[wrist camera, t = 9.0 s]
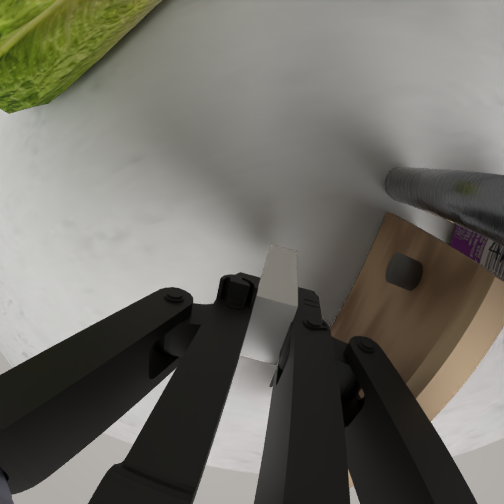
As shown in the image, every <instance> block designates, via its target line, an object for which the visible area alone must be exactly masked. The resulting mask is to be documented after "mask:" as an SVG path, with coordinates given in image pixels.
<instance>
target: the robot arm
mask: <svg viewBox="0 0 504 504" xmlns="http://www.w3.org/2000/svg"><path fill="white" fill-rule="evenodd" d="M239 356H244V357H247V358H251V359H255V360H258V361H262V362H266V363H270V364H274V365H276V364H277V361H278V359H279V364H278V366H277V369H276V371H275V374H274V376H273V379H272V381H271V383H270V386H269V387H272V386H273V390H272V397H271V404H270V411H269V418H268V424H267V431H266V437H265V443H264V450H263V456H262V462H261V467H260V473H259V479H258V485H257V490H256V495H255V501H254V504H350V495H349V493H350V492H349V475H348V470H349V473H350V476H351V479H352V481H353V484H354V487H355V490H356V493H357V496H358V499H359V502H360V504H477V502H476V500H475V498H474V496H473V494H472V492H471V490H470V489H469V487H468V485H467V483H466V481H465V480H464V478H463V476H462V474H461V472H460V471H459V469H458V467H457V465H456V463H455V462H454V460H453V458H452V457H451V455H450V453H449V451H448V450H447V448H446V446H445V445H444V443H443V441H442V440H441V438H440V436H439V435H438V433H437V432H436V430H435V428H434V427H433V425H432V423H431V422H430V420H429V419H428V417H427V416H426V414H425V412H424V411H423V409H422V408H421V406H420V405H419V403H418V401H417V400H416V398H415V397H414V395H413V394H412V392H411V391H410V389H409V388H408V386H407V385H406V383H405V382H404V380H403V379H402V377H401V376H400V374H399V373H398V371H397V370H396V368H395V367H394V366H393V364H392V363H391V361H390V360H389V358H388V357H387V355H386V354H385V353H384V351H383V350H382V348H381V347H380V346H379V345H378V344H377V343H376V342H375V341H373V340H372V339H370V338H368V337H363V336H354V337H352V338H351V339H350V341H349V343H348V344H347V343H345V342H343V341H340V340H338V339H336V338H334V337H333V336H331V330H330V327H329V325H328V324H327V323H326V322H325V321H324V320H322V316H321V309H320V304H319V297H318V296H317V295H316V293H315V292H314V291H311V290H307V289H303V288H299V287H298V274H297V251H295V250H291V249H287V248H284V247H280V246H276V245H273V244H271V246H270V250H269V253H268V256H267V259H266V263H265V266H264V269H263V272H262V276H261V278H259V277H256V276H252V275H248V274H245V273H241V272H240V273H238V274H236V275H225V276H223V277H221V279H220V284H219V289H218V293H217V298H216V300H215V302H214V304H207V305H206V304H195V303H193V297H192V296H191V294H190V293H188V292H187V291H185V290H182V289H180V288H175V287H170V288H163V289H160V290H158V291H156V292H154V293H152V294H150V295H148V296H146V297H144V298H143V299H141V300H139V301H137V302H135V303H133V304H131V305H129V306H127V307H125V308H124V309H122V310H120V311H118V312H116V313H114V314H112V315H110V316H108V317H107V318H105V319H103V320H101V321H99V322H97V323H95V324H93V325H92V326H90V327H88V328H86V329H84V330H82V331H80V332H79V333H77V334H75V335H73V336H71V337H69V338H67V339H65V340H64V341H62V342H60V343H58V344H56V345H54V346H52V347H51V348H49V349H47V350H45V351H43V352H41V353H40V354H38V355H36V356H34V357H32V358H30V359H29V360H27V361H25V362H23V363H21V364H19V365H18V366H16V367H14V368H12V369H10V370H8V371H7V372H5V373H3V374H1V375H0V504H14V503H13V500H12V494H16V493H20V492H23V491H25V490H27V489H30V488H32V487H34V486H35V485H37V484H39V483H40V482H41V481H43V480H45V479H46V478H47V477H49V476H50V475H51V474H52V473H54V472H55V471H56V470H58V469H59V468H60V467H61V466H63V465H64V464H65V463H66V462H68V461H69V460H70V459H71V458H73V457H74V456H75V455H76V454H77V453H79V452H80V451H81V450H82V449H84V448H85V447H86V446H87V445H88V444H90V443H91V442H92V441H93V440H95V438H97V437H98V436H99V435H100V434H102V433H103V432H104V431H105V430H106V429H108V428H109V427H110V426H111V425H112V424H113V423H115V422H116V421H117V420H118V419H119V418H120V417H122V416H123V415H124V414H125V413H126V412H127V411H129V410H130V409H131V408H132V407H133V406H134V405H135V404H137V403H138V402H139V401H140V400H141V399H142V398H143V397H144V396H146V395H147V394H148V393H149V392H150V391H151V390H152V389H153V388H155V387H156V386H157V385H158V384H159V383H160V382H161V381H162V380H163V379H165V378H166V377H167V376H168V375H169V374H170V373H171V372H172V371H173V370H175V369H176V370H175V372H174V373H173V375H172V377H171V379H170V381H169V382H168V384H167V386H166V388H165V389H164V391H163V393H162V395H161V396H160V398H159V400H158V402H157V403H156V405H155V407H154V409H153V410H152V412H151V414H150V416H149V418H148V419H147V421H146V423H145V425H144V426H143V428H142V430H141V432H140V434H139V435H138V437H137V439H136V441H135V442H134V444H133V446H132V448H131V450H130V452H129V453H128V455H127V457H126V458H125V460H124V461H123V462H122V463H119V464H114V465H113V466H112V467H111V468H110V469H109V470H108V471H107V473H106V474H105V476H104V477H103V479H102V480H101V482H100V484H99V486H98V487H97V489H96V491H95V492H94V494H93V496H92V498H91V499H90V501H89V503H88V504H193V501H194V499H195V496H196V492H197V490H198V487H199V483H200V481H201V478H202V474H203V471H204V468H205V465H206V462H207V459H208V456H209V453H210V450H211V447H212V444H213V441H214V437H215V434H216V431H217V428H218V425H219V422H220V418H221V415H222V412H223V409H224V406H225V402H226V399H227V396H228V393H229V389H230V386H231V383H232V380H233V376H234V373H235V370H236V366H237V363H238V360H239ZM361 389H362V390H363V392H364V397H363V398H361V397H360V395H359V392H360V390H361Z"/></svg>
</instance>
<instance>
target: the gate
mask: <svg viewBox="0 0 504 504" xmlns="http://www.w3.org/2000/svg"><path fill="white" fill-rule="evenodd" d="M503 326H504V281H503V280H502V279H500V278H499V277H498V276H496V275H495V274H493V273H492V272H490V271H489V270H487V269H486V268H484V267H483V266H481V265H480V264H478V263H477V262H475V261H474V260H472V259H471V258H469V257H468V256H466V255H464V254H463V253H461V252H460V251H458V250H456V249H455V248H453V247H451V246H450V245H448V244H447V243H445V242H443V241H441V240H440V239H438V238H436V237H435V236H433V235H431V234H429V233H428V232H426V231H424V230H422V229H420V228H419V227H417V226H415V225H413V224H411V223H409V222H408V221H406V220H404V219H402V218H400V217H398V216H396V215H393V214H391V213H389V212H386V215H385V217H384V220H383V222H382V225H381V227H380V229H379V232H378V234H377V236H376V239H375V241H374V243H373V245H372V248H371V250H370V252H369V254H368V257H367V259H366V261H365V263H364V265H363V267H362V269H361V271H360V273H359V276H358V278H357V280H356V282H355V284H354V286H353V288H352V290H351V292H350V294H349V296H348V298H347V299H346V301H345V303H344V305H343V307H342V309H341V311H340V313H339V315H338V316H337V318H336V320H335V322H334V324H333V326H332V327H331V329H330V330H331V336H333V337H334V338H336V339H338V340H340V341H343V342H345V343H347V344H348V343H349V341H350V339H351V338H352V337H354V336H363V337H368V338H370V339H372V340H373V341H375V342H376V343H377V344H378V345H379V346H380V347H381V348H382V350H383V351H384V353H385V354H386V355H387V357H388V358H389V360H390V361H391V363H392V364H393V366H394V367H395V368H396V370H397V371H398V373H399V374H400V376H401V377H402V379H403V380H404V382H405V383H406V385H407V386H408V388H409V389H410V391H411V392H412V394H413V395H414V397H415V398H416V400H417V401H418V403H419V405H420V406H421V408H422V409H423V411H424V412H425V414H426V416H427V417H428V419H429V420H430V422H431V421H432V420H433V419H434V417H435V416H436V415H437V414H438V413H439V412H440V411H441V410H442V409H443V408H444V407H445V406H446V405H447V403H448V402H449V401H450V400H451V399H452V398H453V397H454V395H455V394H456V393H457V392H458V391H459V389H460V388H461V387H462V386H463V384H464V383H465V382H466V381H467V379H468V378H469V377H470V375H471V374H472V373H473V372H474V370H475V369H476V367H477V366H478V365H479V363H480V362H481V361H482V359H483V358H484V356H485V355H486V353H487V352H488V350H489V349H490V347H491V346H492V344H493V343H494V341H495V339H496V338H497V336H498V335H499V333H500V331H501V330H502V328H503ZM359 395H360V397H361V398H363V397H364V392H363V390H362V389H361V390H360V392H359ZM348 475H349V488H350V487H352V486H353V485H354V484H353V481H352V479H351V476H350V473H349V470H348Z"/></svg>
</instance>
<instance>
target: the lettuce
mask: <svg viewBox="0 0 504 504" xmlns="http://www.w3.org/2000/svg"><path fill="white" fill-rule="evenodd" d="M161 1H162V0H0V109H2V110H3V111H5V112H7V113H9V114H10V113H13V112H16V111H20V110H24V109H27V108H31V107H35V106H39V105H43V104H48V103H50V102H51V101H52V100H53V99H55V98H56V97H57V96H58V95H60V94H61V93H62V92H64V91H65V90H66V89H68V88H69V87H70V86H71V85H72V84H73V83H74V82H75V81H76V80H77V79H78V78H79V77H80V76H81V75H82V74H84V73H85V72H86V71H87V70H88V69H89V68H90V67H91V66H92V65H94V64H95V63H96V62H97V61H98V60H99V59H101V58H102V57H103V56H104V55H105V54H106V53H107V52H108V51H109V50H110V49H111V48H112V47H113V46H114V45H115V44H116V43H117V42H118V41H119V40H120V39H121V38H122V37H123V36H125V35H126V34H127V33H128V32H129V31H130V30H131V29H132V28H133V27H135V26H136V25H137V24H138V23H139V22H140V21H141V20H142V19H143V18H144V17H145V16H146V15H147V14H148V13H149V12H150V11H151V10H152V9H153V8H154V7H155V6H156V5H158V4H159V3H160V2H161Z"/></svg>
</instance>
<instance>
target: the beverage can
mask: <svg viewBox="0 0 504 504" xmlns="http://www.w3.org/2000/svg"><path fill="white" fill-rule="evenodd" d="M450 246H451V247H453V248H455V249H456V250H458V251H460V252H461V253H463V254H464V255H466V256H468V257H469V258H471V259H472V260H474V261H475V262H477V263H478V264H480V265H481V266H483V267H484V268H486V269H487V270H489V271H490V272H492V273H493V274H495V275H496V276H498V277H499V278H500V279H502V280H503V281H504V246H502V245H500V244H498V243H496V242H494V241H492V240H490V239H488V238H485V237H483V236H481V235H479V234H477V233H475V232H473V231H471V230H468V229H466V228H464V227H462V226H459V225H456V227H455V230H454V232H453V235H452V239H451V244H450Z"/></svg>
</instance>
